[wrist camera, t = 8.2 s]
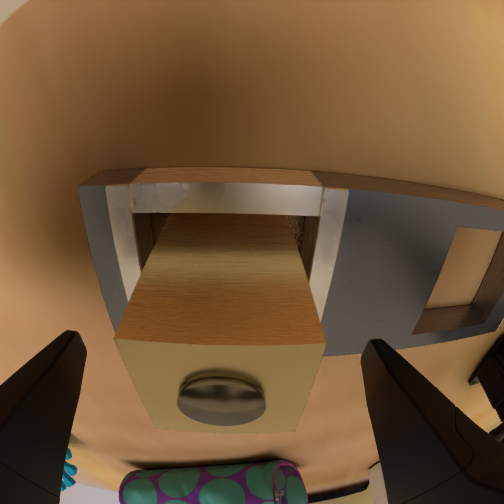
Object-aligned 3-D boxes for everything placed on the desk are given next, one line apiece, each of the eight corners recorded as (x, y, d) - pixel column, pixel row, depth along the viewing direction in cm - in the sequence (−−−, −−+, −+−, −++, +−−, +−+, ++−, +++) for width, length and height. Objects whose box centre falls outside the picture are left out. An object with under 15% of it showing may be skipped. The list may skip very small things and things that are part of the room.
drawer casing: (528, 206, 11) (550, 222, 9) (482, 313, 15) (496, 333, 14) (98, 171, 10) (74, 188, 8) (131, 324, 14) (121, 353, 12)
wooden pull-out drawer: (286, 212, 11) (329, 352, 6) (277, 301, 14) (296, 437, 8) (171, 211, 11) (110, 347, 5) (181, 300, 13) (154, 434, 8)
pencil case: (280, 446, 23) (289, 535, 15) (304, 465, 28) (313, 534, 19) (120, 458, 27) (110, 522, 19) (162, 478, 31) (157, 534, 23)
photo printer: (401, 443, 27) (423, 524, 16) (425, 437, 28) (447, 512, 17) (362, 470, 32) (376, 538, 22) (385, 465, 33) (400, 530, 22)
